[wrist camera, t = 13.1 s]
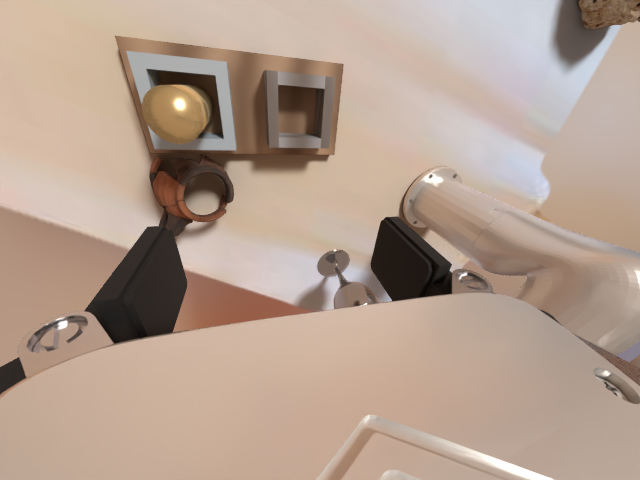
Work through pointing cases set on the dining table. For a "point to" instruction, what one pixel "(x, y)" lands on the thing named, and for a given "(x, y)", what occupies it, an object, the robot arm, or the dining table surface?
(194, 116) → the brass cylinder
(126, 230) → the dining table surface
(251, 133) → the tool board
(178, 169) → the pottery mug
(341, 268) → the wine glass
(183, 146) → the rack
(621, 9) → the rock
